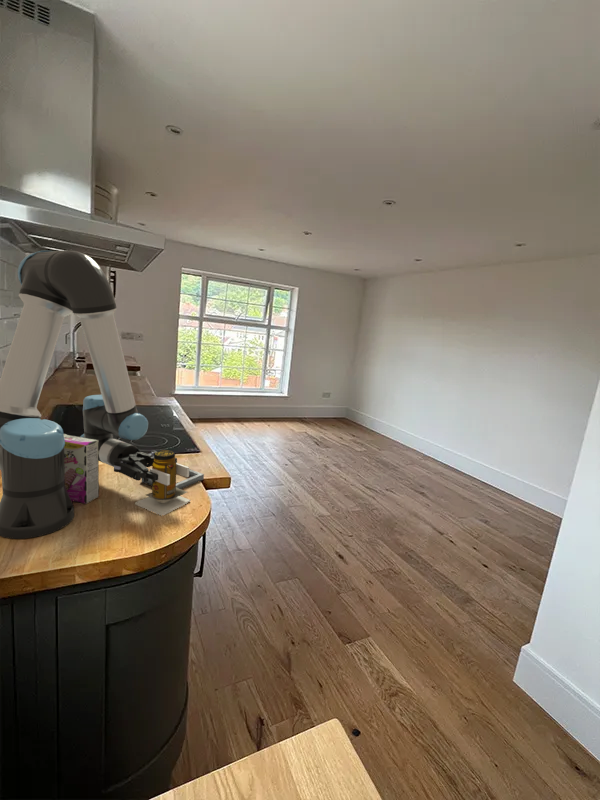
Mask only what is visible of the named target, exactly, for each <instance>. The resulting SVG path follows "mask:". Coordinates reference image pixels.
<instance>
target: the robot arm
mask: <svg viewBox="0 0 600 800" xmlns="http://www.w3.org/2000/svg"><path fill="white" fill-rule="evenodd" d="M17 278H18V281H19V283H20V290H19V293H18V297H19V299H20V300H21V301H22V303H23V307H22V310H21V312H20V315H19V319H18V323H17V325H16V328H15V331H14V335H13V337H12V342H11V344H10V347H9V351H8V354H7V356H6V359H5V363H4V365H3V369H2V373H1V375H0V473H1V488H2V496H1V498H0V537H2V538H6V539H11V540H12V539H15V540H18V539H19V540H21V539H30V538H36V537H37V538H38V537H42V536H46V535H49V534H52V533H54V532H57V531H59V530H61V529H63V528H64V527H66V526H68V525H69V524H70V523H71V522H72V521H73V519H74V517H75V508H74V507H75V506H74V503H73V501H71V499H70V496H69V494H68V492H67V490H66V487H65V461H64V446H65V438H64V434H65V433H64V429H63V428H62V426H61V425H60V424H58V423H57V422H55V421H52V420H49V419H47V418H46V419H41V418H42V414H41V412H40V411H39V409H38V408H37V407H38V403H39V400H40V396H41V393H42V390H43V387H44V384H45V380H46V378H47V375H48V371H49V367H50V364H51V361H52V359H53V356H54V352H55V348H56V346H57V343H58V339H59V335H60V333H61V329H62V326H63V323H64V320H65V318H66V317H68V316H70V315H75V316H76V317H77V318H79V321H80V324H81V327H82V332H83V335H84V338H85V342H86V346H87V349H88V352H89V356H90V358H91V363H92V366H93V369H94V373H95V377H96V379H97V383H98V386H99V390H100V391H99V392H100V394H92V395H88V396H85V397H84V398H83V400H82V404H83V406H82V416H83V417H82V418H83V429H84V430H83V431H84V433H83V434H81V435H80V436H79V437H83V438H88V439H94V440H99V462H100V463H102V464H106V465H108V466H110V467H113V472H114V473H120V474H121V475H124V476H126V477H128V478H131V479H133V480H135V481H142V478H144V482H147V481H148V479H151V480H153V481H157V482H159V483H162V484H164V485H167V486H168V485H170V475H169V474H167V473H164V472H161V471H158V470H156V469H153V468H152V465H153V463H154V454H155V453H156V452H158V451H157V450H154V449H153V450H151V452H150V453H147V452H142V451H140V449H139V448H138V447H137V445H134V444H131V443H128V442H125V441H123V440H120V439H117V438H114V436H117V437H119V438H121V439H125V440H129V441H137V440H140V439H142V438H143V437H144V436H145V435H146V434H147V431H148V428H149V421H148V419H147V417H145V415H143V414H142V413H140V412H139V411H138V409H137V408H138V407H137V405H136V400H135V395H134V392H133V388H132V384H131V379H130V376H129V373H128V367H127V364H126V360H125V356H124V351H123V347H122V343H121V339H120V334H119V331H118V326H117V323H116V319H115V312H116V311H117V310H118V309H117V305H116V300H115V296H114V293H113V290H112V287H111V285H110V282H109V280H108V277H107V275H106V274H105V272H104V271H103V269H102V268H101V266H100V264H98V263H97V262H96V260H94V259H93V258H92V257H91V256H89V255H87V254H85V253H84V252H83V253H82V252H80V251H77V250H70V249H68V250H47V249H46V250H39V251H36V252H32V253H30V254H28V255H26V256H24V258H23V259H22V260H21V261H20V262H19V265H18V267H17ZM113 435H114V436H113ZM175 462H176V475H179V476H182V477H185V478H188V477H189V478H190V476H189V469H190V466H188V465H185V464H184V465H183V464H181V463H178V458H177V457H175Z"/></svg>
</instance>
